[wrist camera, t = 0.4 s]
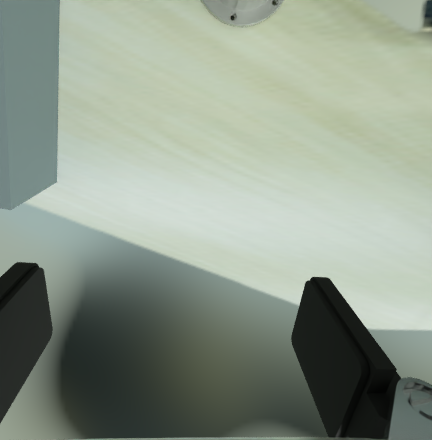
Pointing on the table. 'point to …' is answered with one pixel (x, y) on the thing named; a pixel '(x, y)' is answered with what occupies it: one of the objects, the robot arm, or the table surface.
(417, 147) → the table surface
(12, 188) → the wall board
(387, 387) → the robot arm
